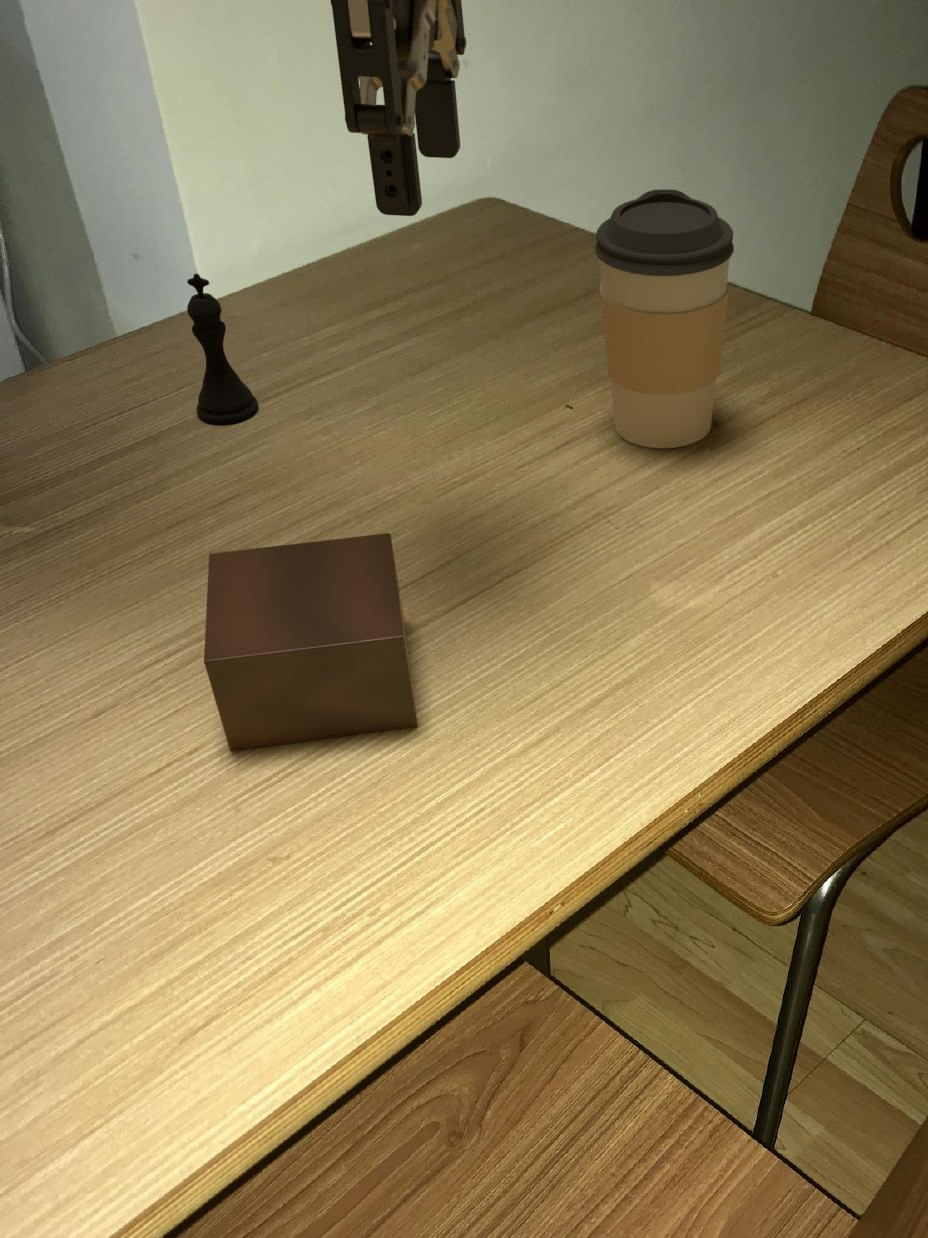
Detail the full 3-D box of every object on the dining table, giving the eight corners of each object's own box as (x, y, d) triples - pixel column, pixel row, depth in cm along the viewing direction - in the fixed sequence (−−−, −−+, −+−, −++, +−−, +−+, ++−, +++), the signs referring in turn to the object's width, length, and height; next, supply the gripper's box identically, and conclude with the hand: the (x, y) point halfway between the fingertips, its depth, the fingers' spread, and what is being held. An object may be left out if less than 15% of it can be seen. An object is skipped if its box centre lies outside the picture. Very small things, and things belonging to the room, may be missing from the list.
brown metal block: (230, 751, 71) (203, 661, 67) (232, 641, 78) (208, 553, 74) (418, 726, 72) (403, 636, 68) (404, 620, 79) (390, 532, 75)
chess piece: (212, 394, 100) (179, 258, 93) (267, 398, 99) (238, 263, 92) (187, 422, 97) (151, 284, 90) (244, 427, 96) (213, 289, 89)
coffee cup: (728, 456, 92) (739, 234, 82) (598, 457, 93) (591, 235, 82) (723, 395, 99) (732, 181, 88) (601, 395, 99) (595, 182, 88)
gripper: (344, -223, 65) (388, 136, 76) (244, -176, 55) (311, 230, 66) (496, -222, 64) (517, 142, 75) (422, -173, 54) (459, 238, 65)
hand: (421, 183), depth 71 cm, fingers open, 8 cm apart
